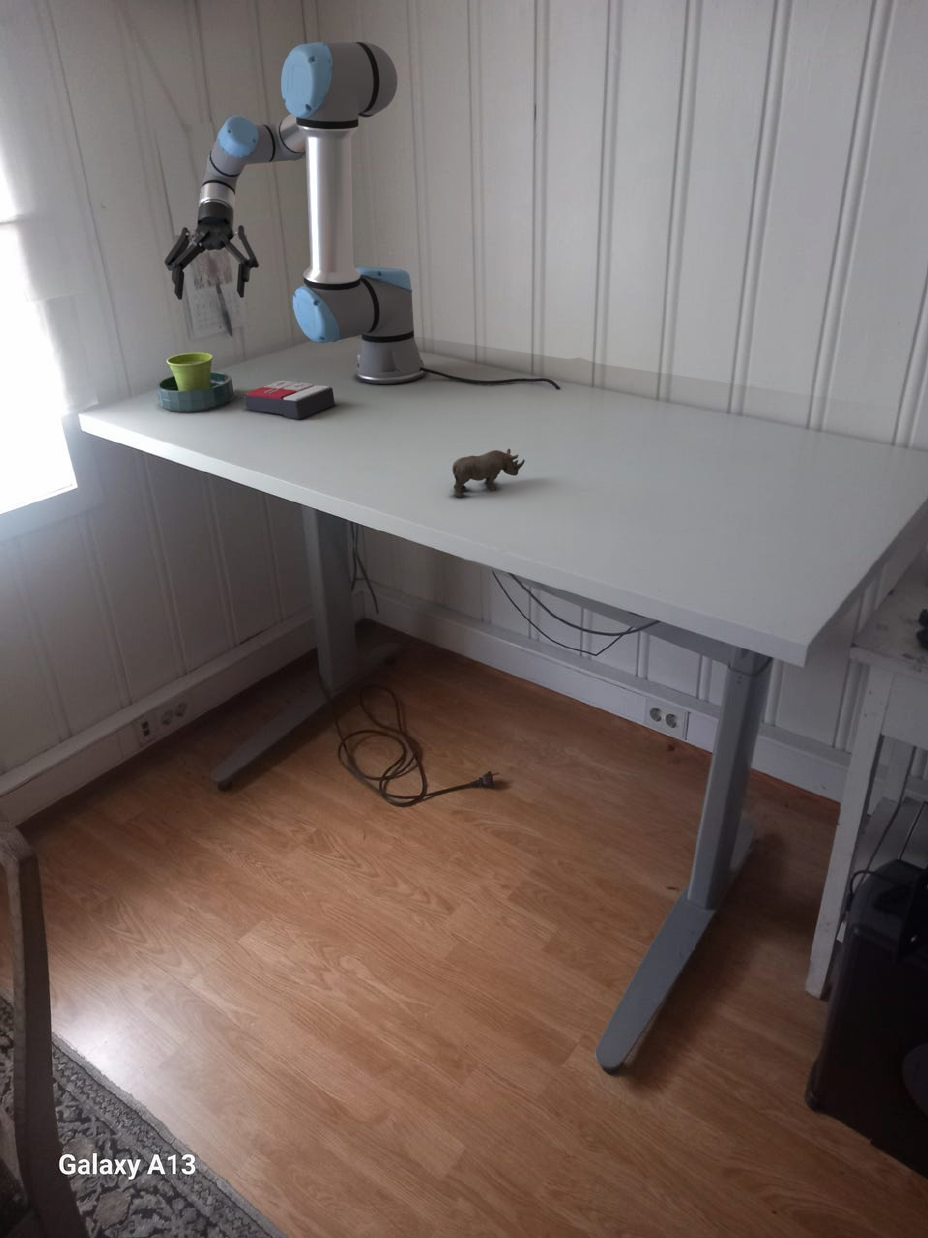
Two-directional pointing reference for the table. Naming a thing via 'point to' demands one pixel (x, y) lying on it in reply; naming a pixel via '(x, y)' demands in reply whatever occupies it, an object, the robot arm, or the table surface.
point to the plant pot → (191, 370)
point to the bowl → (195, 394)
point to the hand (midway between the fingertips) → (209, 295)
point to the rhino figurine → (484, 469)
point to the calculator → (290, 399)
